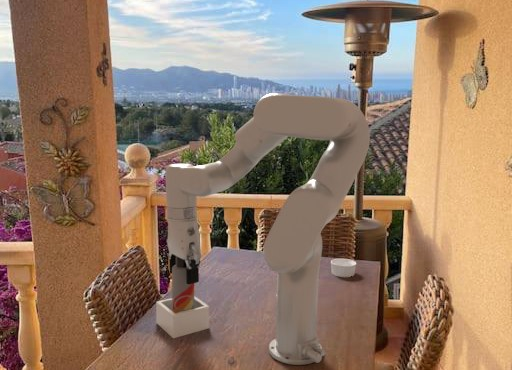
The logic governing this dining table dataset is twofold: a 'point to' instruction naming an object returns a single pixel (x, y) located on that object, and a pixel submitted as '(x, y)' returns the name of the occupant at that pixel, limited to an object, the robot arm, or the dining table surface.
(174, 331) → the caddy
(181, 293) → the lotion bottle
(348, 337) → the dining table surface
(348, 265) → the ramekin
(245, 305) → the dining table surface
